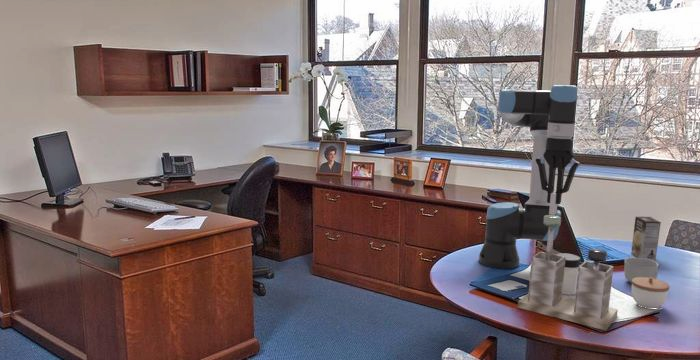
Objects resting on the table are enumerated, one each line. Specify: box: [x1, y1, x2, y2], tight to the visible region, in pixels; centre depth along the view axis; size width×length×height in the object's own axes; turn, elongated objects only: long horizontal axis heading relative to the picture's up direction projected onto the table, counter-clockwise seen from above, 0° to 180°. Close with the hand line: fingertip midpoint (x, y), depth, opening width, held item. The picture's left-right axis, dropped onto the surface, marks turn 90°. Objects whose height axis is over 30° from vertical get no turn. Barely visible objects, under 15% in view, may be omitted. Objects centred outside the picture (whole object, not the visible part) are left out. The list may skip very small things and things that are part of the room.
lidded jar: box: [631, 277, 670, 309], centre depth 185 cm, size 11×11×9 cm
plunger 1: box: [543, 215, 562, 261], centre depth 180 cm, size 6×6×17 cm
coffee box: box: [631, 216, 662, 261], centre depth 236 cm, size 9×6×16 cm
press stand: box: [517, 251, 619, 331], centre depth 178 cm, size 26×14×16 cm, turn 54°
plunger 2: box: [587, 248, 608, 271], centre depth 173 cm, size 6×6×17 cm
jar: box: [555, 252, 581, 296], centre depth 196 cm, size 9×8×12 cm
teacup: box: [623, 255, 660, 284], centre depth 208 cm, size 14×11×8 cm
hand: (552, 213), depth 178 cm, fingers closed
